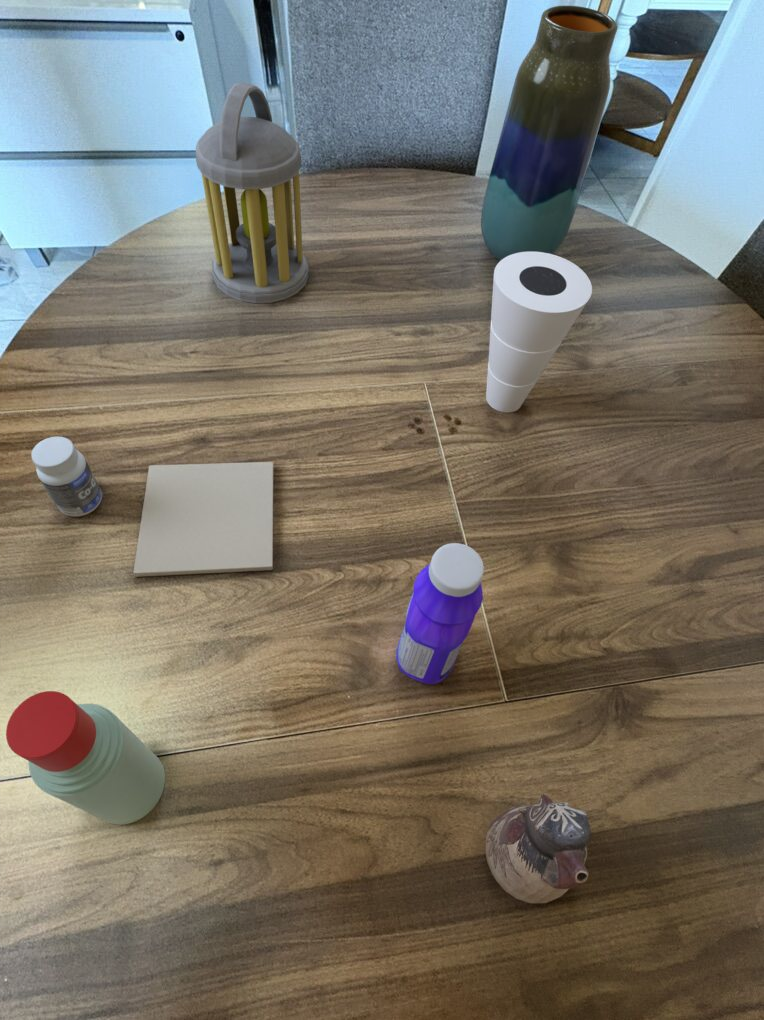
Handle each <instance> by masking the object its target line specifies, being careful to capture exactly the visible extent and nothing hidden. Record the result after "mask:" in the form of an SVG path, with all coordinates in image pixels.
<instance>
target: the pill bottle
mask: <svg viewBox="0 0 764 1020" xmlns="http://www.w3.org/2000/svg"><path fill="white" fill-rule="evenodd" d="M30 455H31V456H30V457H31V461H32V462H33V464H34V466H35V467H36V469H35V470H36V475H37V478H38V480H39V481H40V482H41V484H42V486H43V488H44V489H45V490H46V492H47V493H48V495H49V496H50V498H51V500H52V501H53V503H54V504H55V506H56V508H58V510H59V512H60V513H61V514H63V515H66V516H69V517H75V518H76V517H83V516H86V515H88V514H90V513H92V512H94V511H95V510H96V509H97V508H98V507H99V505H100V504H101V502H102V499H103V491H102V489H101V487H100V485H99V482H98V481H97V479H96V477H95V475H94V473H93V472H92V469H91V467H90V465H89V463H88V461H87V459H86V458H85V456H84V455H83V454H82V453H81V452H80V451H79V450H77V448H76V447H75V445H74V442H72V441H71V439H69V438H67V437H64V436H50V437H47V438H44V439H42V440H41V441H39V442H38V443H37V444H35V446H34V447H33V449H32V450H31V454H30Z"/></svg>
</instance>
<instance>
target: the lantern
mask: <svg viewBox="0 0 764 1020" xmlns="http://www.w3.org/2000/svg"><path fill="white" fill-rule="evenodd" d="M248 97H249V98H250V101H251V104H252V108H253V111H254V115H255V116H242V112H243V108H244V105H245V103H246V100H247V98H248ZM195 162H196V167H197V169H198V171H199V172H200V174H201V177H202V184H203V185H202V186H203V191H204V197H205V203H206V208H207V213H208V220H209V225H210V231H211V238H212V243H213V249H214V255H215V257H214V259H213V260H212V261H211V262H212V276H213V281H214V282H215V284H216V286H217V288H218V289H219V290H220V291H222V292H223V293H224V294H225V295H227V296H228V297H231V298H233V299H235V300H237V301H240V302H244V303H245V302H246V303H251V304H266V303H267V304H269V303H270V304H271V303H275V302H279V301H283V300H287V299H289V298H291V297H293V296H294V295H296V294H298V293H299V292H301V290H302V289H304V287H306V284H307V282H308V280H309V277H310V275H309V271H310V270H309V263H308V259H307V257H306V255H305V254H304V253H303V232H302V211H301V209H302V208H301V207H302V206H301V188H300V187H301V185H300V184H301V183H300V170H301V168H302V155H301V149H300V145H299V143H298V141H297V140H296V138H295V137H294V136H293V135H292V134H290V133H289V132H288V131H287V130H286V129H284V128H283V127H282V126H280V125H278V124H276V123H275V122H273V117H272V113H271V108H270V105H269V102H268V100H267V97H266V95H265V93H264V91H263V90H262V89H261V88H259V87H258V86H257V85H255V84H252V83H247V82H244V81H242V82H241V81H240V82H238V83H234V84H233V85H232V86H231V87H230V90H229V91H228V92H227V94H226V97H225V101H224V104H223V107H222V111H221V119H220V121H219V122H217V123H215V124H214V125H212V126H210V127H209V128H207V130H205V132H204V133H203V134H202V135H200V138H199V139H198V141H196V145H195ZM221 186H222V188H223V196H224V200H225V201H224V202H225V209H226V216H227V221H228V222H227V224H228V230H229V236H230V243H229V237H228V231H227V224H226V217H225V211H224V204H223V196H222V191H221ZM292 187H293V188H292ZM269 188H271V192H272V206H273V217H274V219H273V220H274V224H272V223H270V221H269V211H268V210H269V209H268V199H267V196H266V194H265V192H264V191H262V190H265V189H269ZM236 189H238V190H243V191H242V193H241V195H240V207H241V216H242V223H241V224H240V217H239V209H238V200H237V195H236ZM292 189H293V196H292ZM292 197H293V198H292ZM293 207H294V208H293ZM293 209H294V215H293ZM293 217H294V218H293ZM294 225H295V227H294ZM294 229H295V236H294Z"/></svg>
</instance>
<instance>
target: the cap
mask: <svg viewBox="0 0 764 1020" xmlns="http://www.w3.org/2000/svg"><path fill="white" fill-rule="evenodd" d="M5 738H6V743H7V745H8V747H9V749H10V750H11V751H12V752H13V753H14V754H16V755H17V756H19V757H21V758H22V759H24V760H26V761H27V762H28V761H30V762H31V763H33V764H35V765H37V766H39V767H40V768H42V769H44V770H47V771H51V772H60V771H65V770H68V769H70V768H72V767H74V766H76V765H77V764H79V763H80V762H81V761H83V760H84V759H85V758H86V756H87V755H88V754H89V752H90V751H91V749H92V747H93V745H94V742H95V738H96V726H95V723H94V721H93V719H92V718H91V717H90V716H89V715H88V714H87V713H86V712H85V711H84V710H83V709H82V708H80V707H79V706H78V704H77V703H76V702H75V701H74V700H73V699H72V698H70V697H69V696H68V695H67V694H65V693H63V692H60V691H55V690H46V691H42V692H38V693H35V694H33V695H31V696H29V697H27V698H26V699H25V700H24V701H22V702H21V703H20V704H18V706H17V707H16V708H15V709H14V711H13V712H12V713H11V715H10V717H9V719H8V722H7V724H6V729H5Z"/></svg>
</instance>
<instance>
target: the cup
mask: <svg viewBox="0 0 764 1020" xmlns="http://www.w3.org/2000/svg"><path fill="white" fill-rule="evenodd" d="M492 282H493V283H492V298H491V313H490V330H489V347H488V348H489V349H488V363H487V374H486V375H487V377H486V391H485V400H486V402H487V404H488V405H489V407H491V409H493V410H495V411H497V412H500V413H507V414H508V413H514V412H516V411H518V410H520V408H521V407H522V406H523V404H524V403H525V401H526V399H527V398H528V396H529V394H530V392H531V391H532V390H533V388H534V387H535V385H536V383H537V381H538V380H539V378H540V376H541V375H542V373H544V370H545V369H546V367H547V366H548V364H549V363H550V362H551V359H552V358H553V357H554V355H555V353H556V352H557V350H558V349H559V347H560V345H561V344H562V343H563V341H564V339H565V338H566V336H567V335H568V334H569V332H570V330H571V329H572V327H573V326H574V324H575V322H576V321H577V319H578V317H579V316H580V315H581V313H582V312H583V310H584V308H585V306H586V305H587V304H588V302H589V300H591V296H592V293H593V286H592V282H591V280H590V278H589V276H588V275H587V273H586V272H585V271H584V270H583V269H581V267H579V266H578V265H576V264H575V263H574V262H572V261H570V260H569V259H566V258H564V257H561V256H559V255H556V254H554V253H553V254H549V253H543V252H520V253H515V254H512V255H509V256H507V257H505V258H504V259H502V260H501V261H500V260H499V262H498V263H497V264H496V266H495V267H494V271H493V281H492Z"/></svg>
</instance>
